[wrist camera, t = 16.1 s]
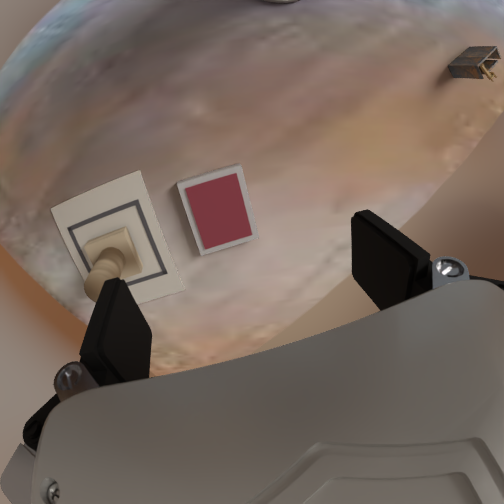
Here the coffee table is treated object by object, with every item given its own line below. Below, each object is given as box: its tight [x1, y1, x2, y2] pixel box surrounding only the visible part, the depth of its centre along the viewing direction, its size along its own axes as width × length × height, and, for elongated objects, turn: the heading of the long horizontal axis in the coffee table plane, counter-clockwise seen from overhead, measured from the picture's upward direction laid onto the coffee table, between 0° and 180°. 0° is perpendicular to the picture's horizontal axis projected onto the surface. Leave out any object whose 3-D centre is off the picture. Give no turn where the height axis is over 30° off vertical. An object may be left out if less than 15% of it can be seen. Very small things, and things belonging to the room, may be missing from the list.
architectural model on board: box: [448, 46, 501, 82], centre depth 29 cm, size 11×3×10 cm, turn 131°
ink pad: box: [177, 163, 259, 256], centre depth 36 cm, size 10×8×2 cm
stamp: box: [84, 226, 143, 302], centre depth 31 cm, size 6×6×10 cm
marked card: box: [51, 170, 185, 304], centre depth 36 cm, size 18×14×1 cm
